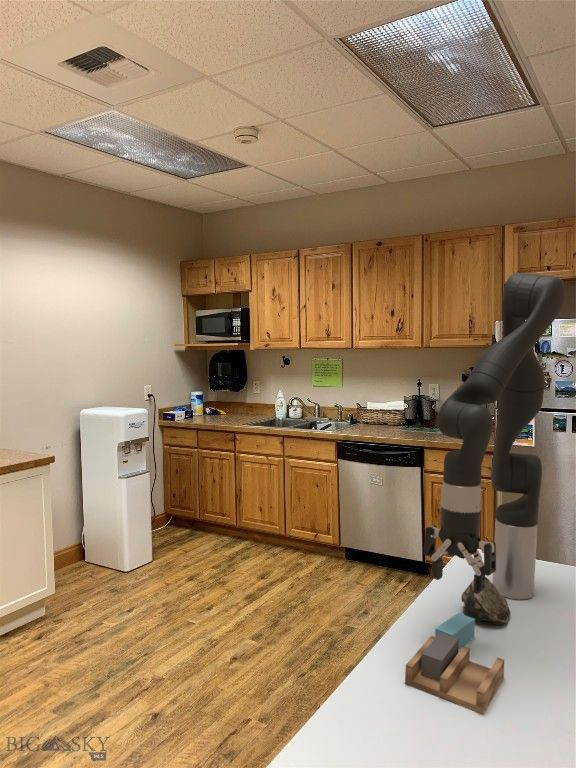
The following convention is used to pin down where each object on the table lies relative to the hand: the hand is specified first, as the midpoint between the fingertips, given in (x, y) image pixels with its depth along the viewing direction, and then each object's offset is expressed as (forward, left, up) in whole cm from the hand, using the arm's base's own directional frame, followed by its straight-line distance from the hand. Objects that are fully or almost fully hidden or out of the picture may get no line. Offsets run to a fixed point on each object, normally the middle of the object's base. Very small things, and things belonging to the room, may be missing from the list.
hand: (457, 585), depth 115 cm
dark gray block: (+11, +1, -11) cm, 16 cm away
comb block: (+12, +4, -12) cm, 18 cm away
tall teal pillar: (0, 0, -12) cm, 12 cm away
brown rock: (-14, +2, -12) cm, 19 cm away
